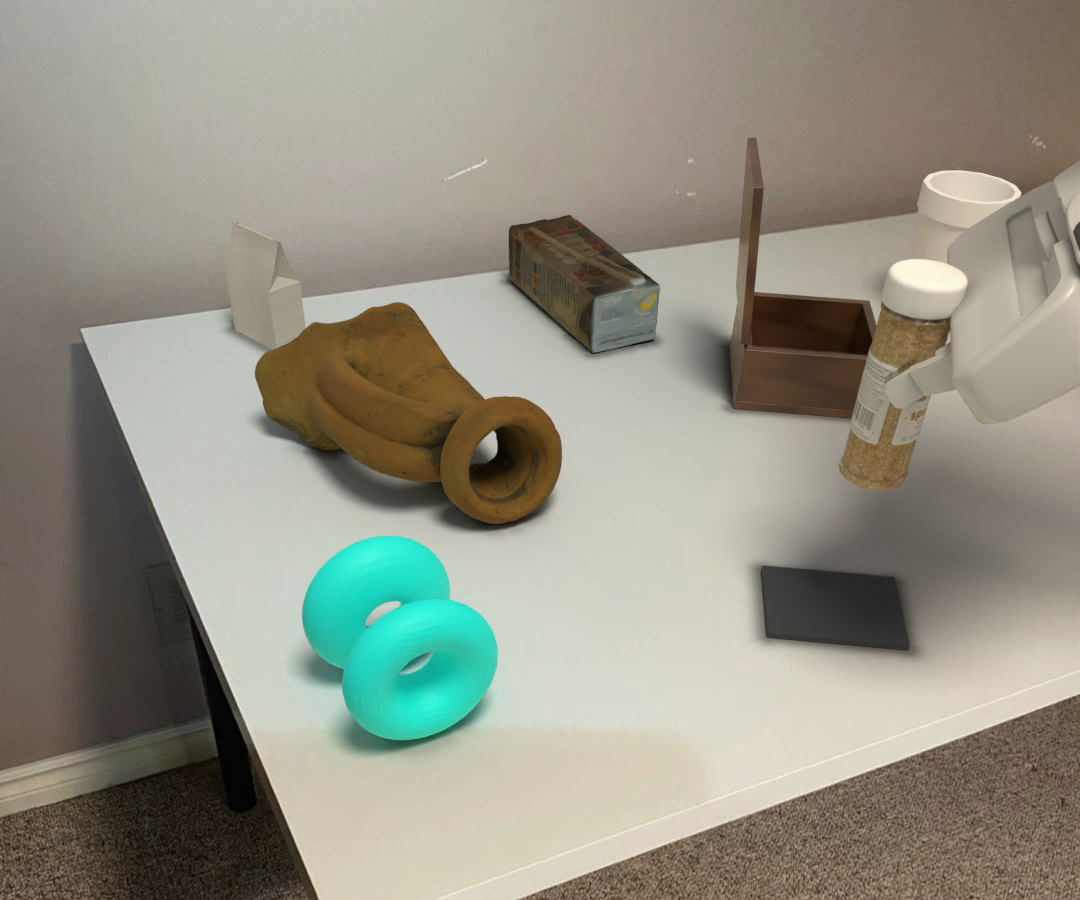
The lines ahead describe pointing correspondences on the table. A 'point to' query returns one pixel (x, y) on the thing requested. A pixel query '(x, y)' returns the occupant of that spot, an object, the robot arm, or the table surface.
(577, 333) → the beverage carton
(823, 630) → the felt mat
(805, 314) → the walnut box
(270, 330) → the white gable top carton
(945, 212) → the foam cup
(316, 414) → the brown looped sculpture
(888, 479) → the spice jar
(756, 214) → the box lid
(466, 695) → the donuts
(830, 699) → the table surface
